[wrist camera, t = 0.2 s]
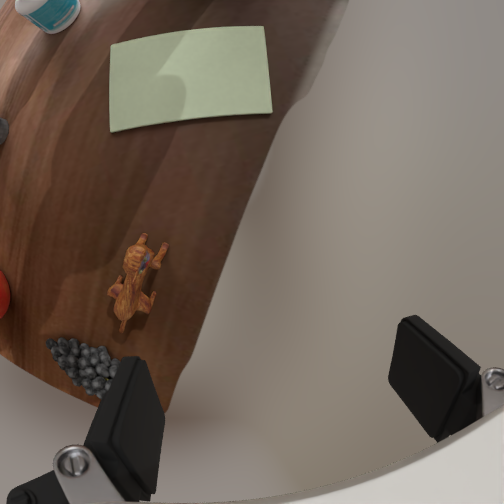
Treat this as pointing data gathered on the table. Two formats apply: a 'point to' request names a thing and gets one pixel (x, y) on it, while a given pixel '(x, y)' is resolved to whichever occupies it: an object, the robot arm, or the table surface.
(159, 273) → the table surface
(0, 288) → the apple
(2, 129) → the beverage cup
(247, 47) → the mat
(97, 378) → the fruit
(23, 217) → the table surface
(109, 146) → the table surface
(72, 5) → the pill bottle
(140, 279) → the cat figurine
